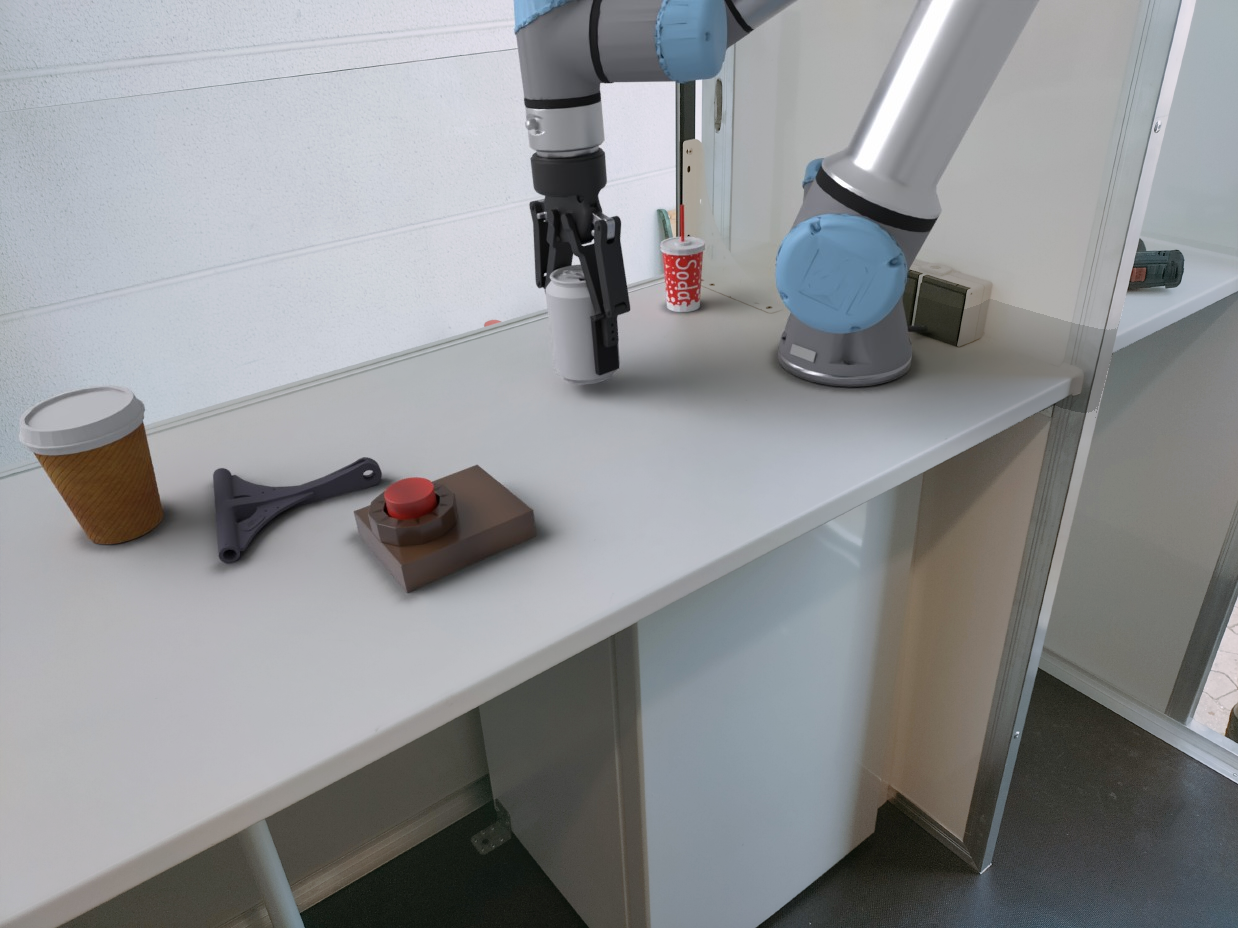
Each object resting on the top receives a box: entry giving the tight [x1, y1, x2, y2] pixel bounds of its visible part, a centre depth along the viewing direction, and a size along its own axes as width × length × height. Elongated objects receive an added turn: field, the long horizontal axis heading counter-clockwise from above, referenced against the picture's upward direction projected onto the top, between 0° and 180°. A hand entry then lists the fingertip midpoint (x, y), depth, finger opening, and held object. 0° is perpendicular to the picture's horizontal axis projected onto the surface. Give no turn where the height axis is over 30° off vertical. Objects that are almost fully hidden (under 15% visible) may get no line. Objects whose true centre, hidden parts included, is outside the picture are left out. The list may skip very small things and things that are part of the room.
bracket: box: [212, 456, 383, 564], centre depth 79 cm, size 14×15×3 cm
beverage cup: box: [659, 204, 706, 313], centre depth 116 cm, size 6×6×14 cm
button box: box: [353, 464, 537, 594], centre depth 72 cm, size 12×10×4 cm
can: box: [544, 264, 621, 385], centre depth 94 cm, size 8×8×12 cm
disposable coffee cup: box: [18, 384, 164, 545], centre depth 75 cm, size 10×10×12 cm
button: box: [384, 476, 437, 520], centre depth 70 cm, size 4×4×2 cm
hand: (586, 360), depth 97 cm, fingers closed on can, 7 cm apart
